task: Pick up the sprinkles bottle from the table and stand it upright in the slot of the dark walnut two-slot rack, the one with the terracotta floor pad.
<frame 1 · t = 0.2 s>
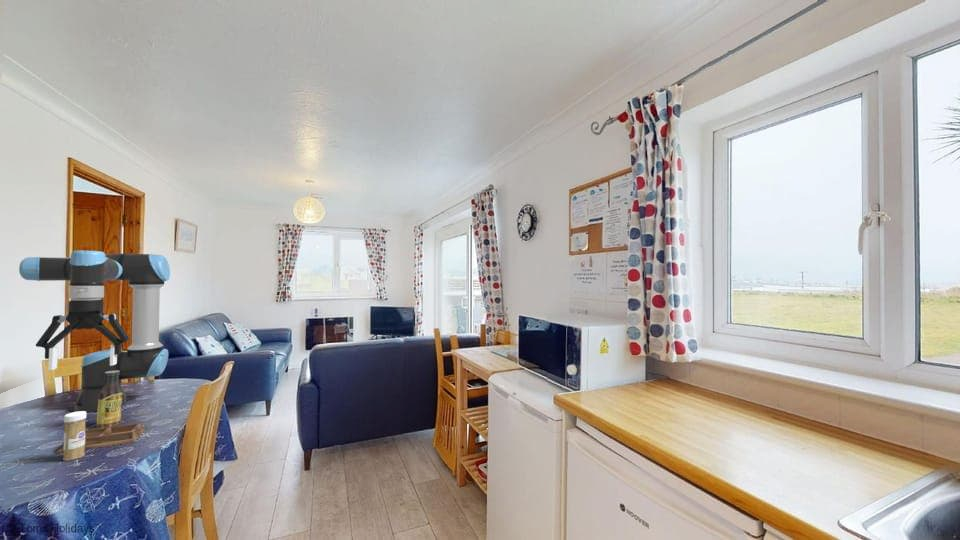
hand: (83, 367, 113), 27 cm above the table, tool pointing down, fingers open, 13 cm apart
sauce bottle: (109, 426, 132), on the table
sprinkles bottle: (74, 458, 109), on the table
slot rack: (104, 440, 120), on the table
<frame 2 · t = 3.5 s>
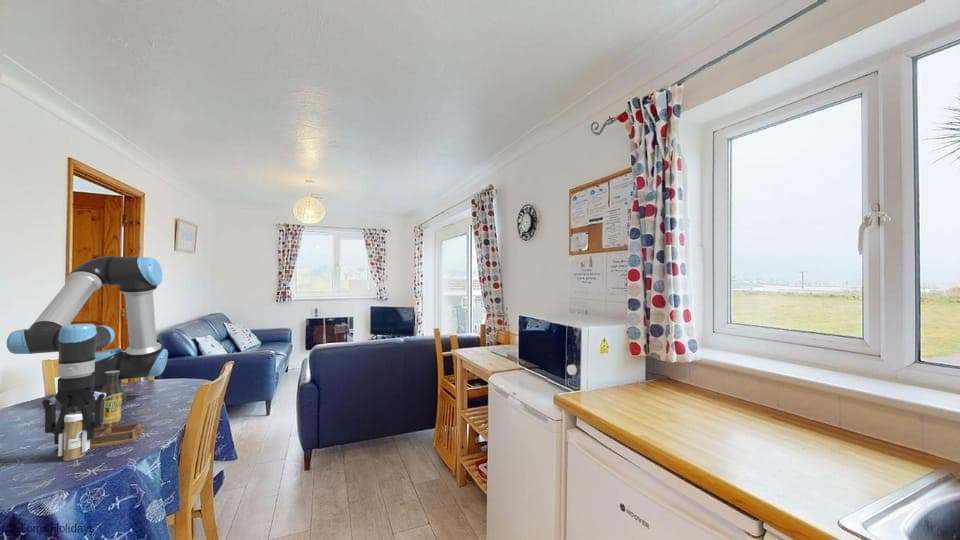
hand: (74, 452, 109), 2 cm above the table, tool pointing down, fingers closed on sprinkles bottle, 4 cm apart
sprinkles bottle: (74, 458, 109), on the table, touching gripper
everything else where it was.
when the fingers open (4 cm above the table, at t = 9.0 s): sprinkles bottle drops 1 cm, resting on slot rack.
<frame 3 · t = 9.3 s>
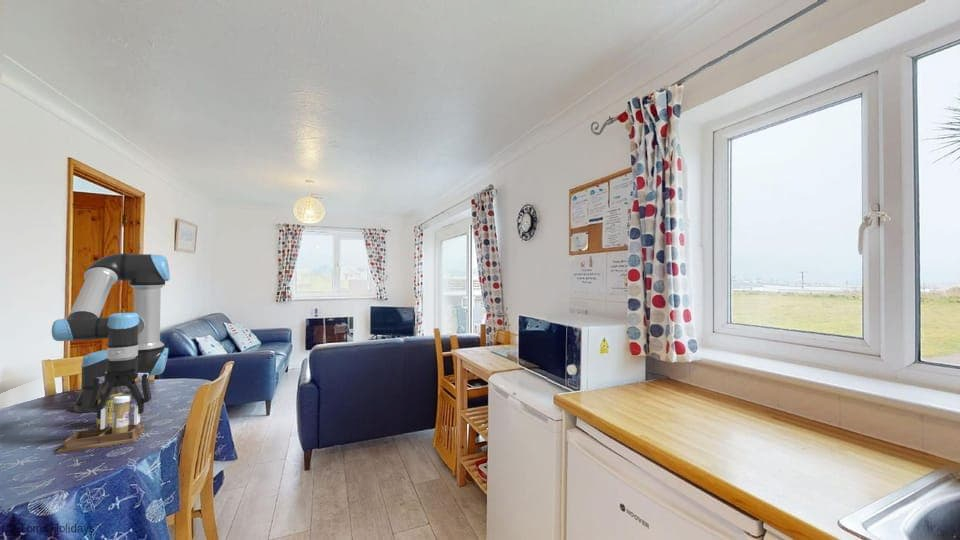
hand: (120, 425, 122), 4 cm above the table, tool pointing down, fingers open, 8 cm apart
sprinkles bottle: (120, 436, 122), point 1 cm above the table, touching slot rack
everything else where it was.
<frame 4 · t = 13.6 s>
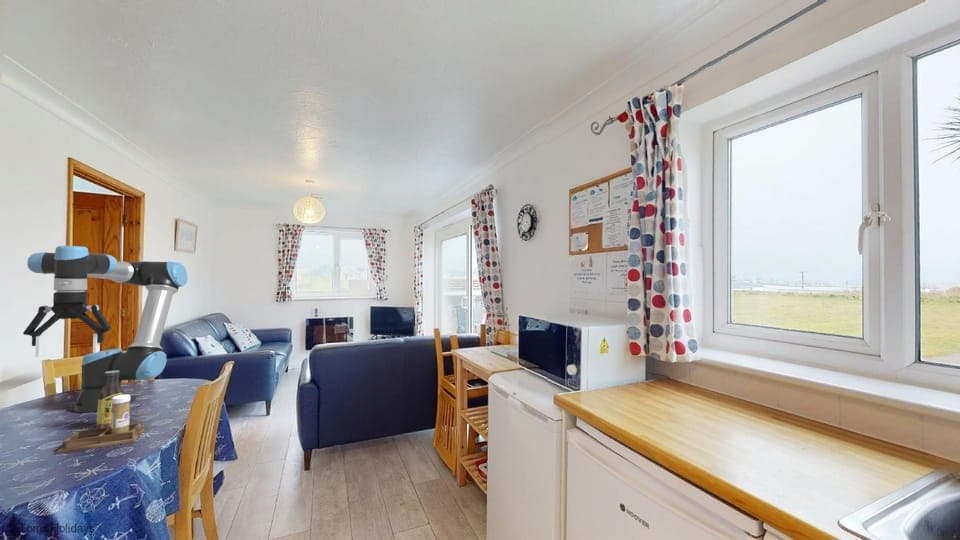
hand: (68, 354, 121), 29 cm above the table, tool pointing down, fingers open, 13 cm apart
nothing on the table moved.
at the end: sprinkles bottle 0.1 cm from the target spot on the slot rack, point 0.7 cm above the slot rack's base; sprinkles bottle tilted 0°; the gripper is holding nothing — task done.
